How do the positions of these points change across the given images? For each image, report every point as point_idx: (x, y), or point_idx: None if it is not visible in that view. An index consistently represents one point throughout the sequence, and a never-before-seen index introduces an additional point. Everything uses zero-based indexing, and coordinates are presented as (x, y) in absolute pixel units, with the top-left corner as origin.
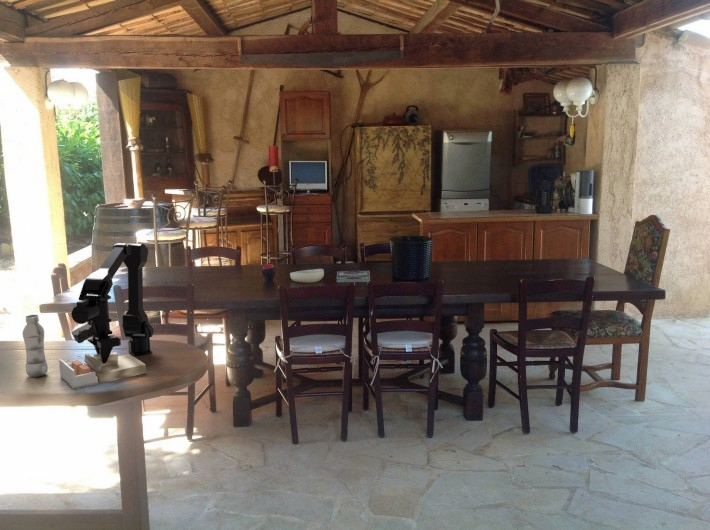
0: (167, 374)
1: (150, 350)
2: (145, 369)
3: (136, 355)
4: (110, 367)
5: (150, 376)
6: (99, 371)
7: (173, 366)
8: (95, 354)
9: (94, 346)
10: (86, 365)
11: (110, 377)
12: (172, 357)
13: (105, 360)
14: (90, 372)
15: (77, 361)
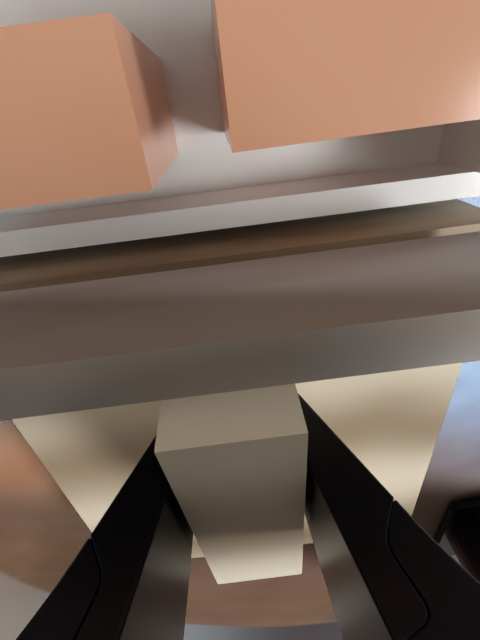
0: (64, 556)
1: (453, 553)
2: None
3: (450, 508)
4: (153, 418)
5: (60, 511)
6: None
7: None
8: (303, 453)
9: (477, 629)
10: (59, 201)
11: None
12: (301, 581)
13: None
14: (166, 224)
15: (462, 73)
